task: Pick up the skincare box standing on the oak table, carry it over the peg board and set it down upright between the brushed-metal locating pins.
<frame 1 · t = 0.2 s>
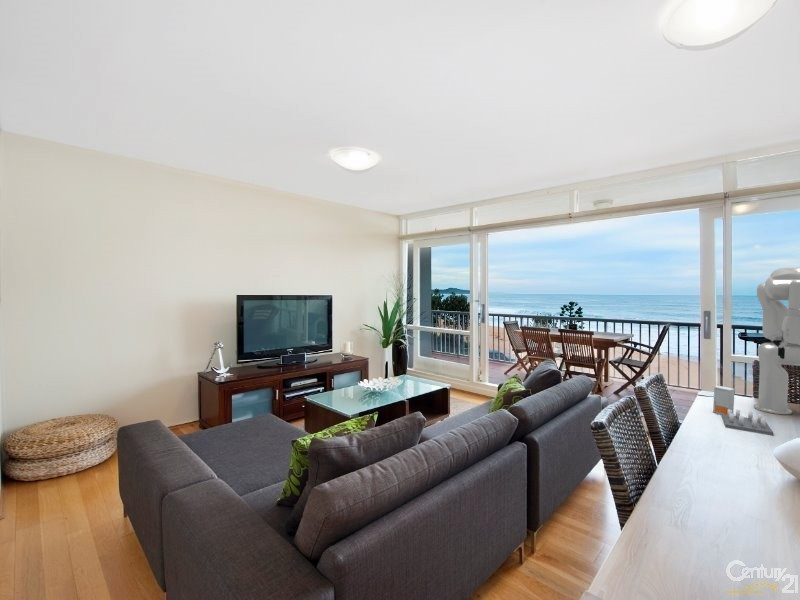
skincare box: (723, 414, 170), on the table
peg board: (745, 425, 155), on the table
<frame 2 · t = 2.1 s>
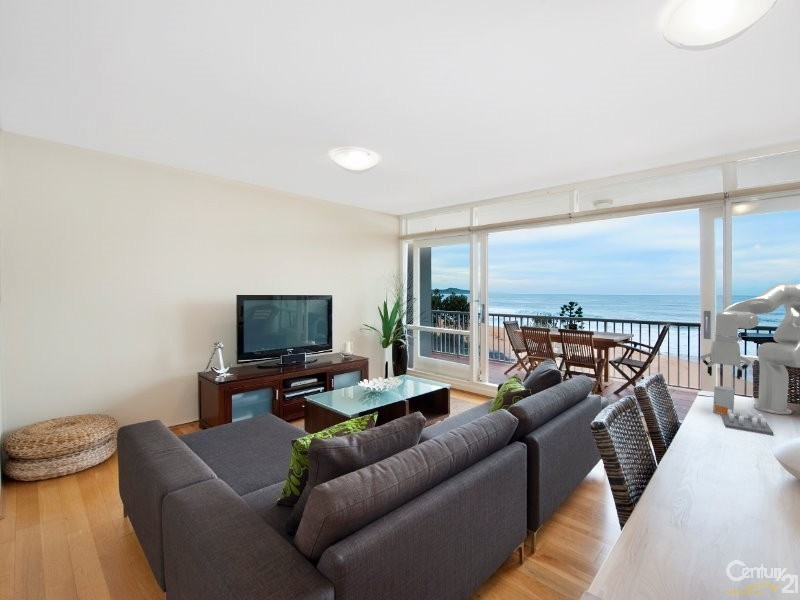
hand: (724, 376, 169), 17 cm above the table, fingers open, 9 cm apart
nothing on the table moved.
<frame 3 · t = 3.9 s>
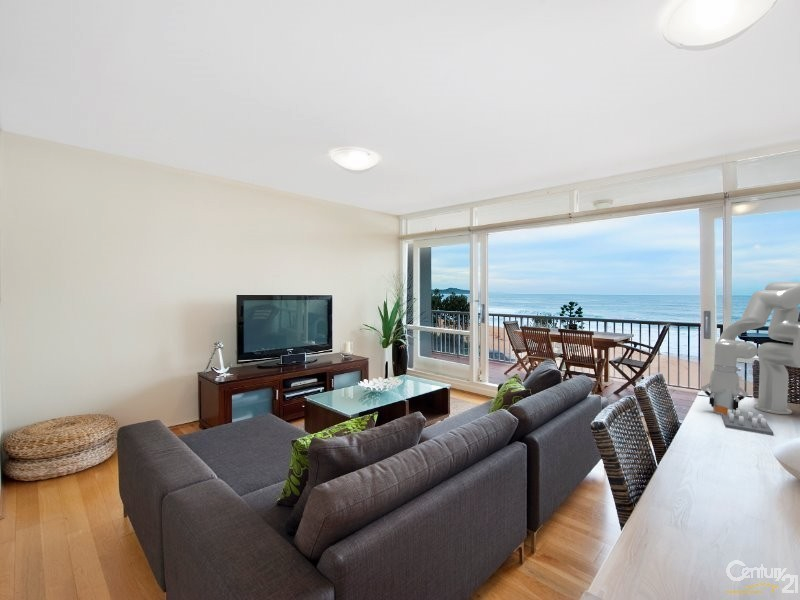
hand: (723, 407, 169), 3 cm above the table, fingers closed on skincare box, 7 cm apart
skincare box: (723, 414, 169), on the table, touching gripper
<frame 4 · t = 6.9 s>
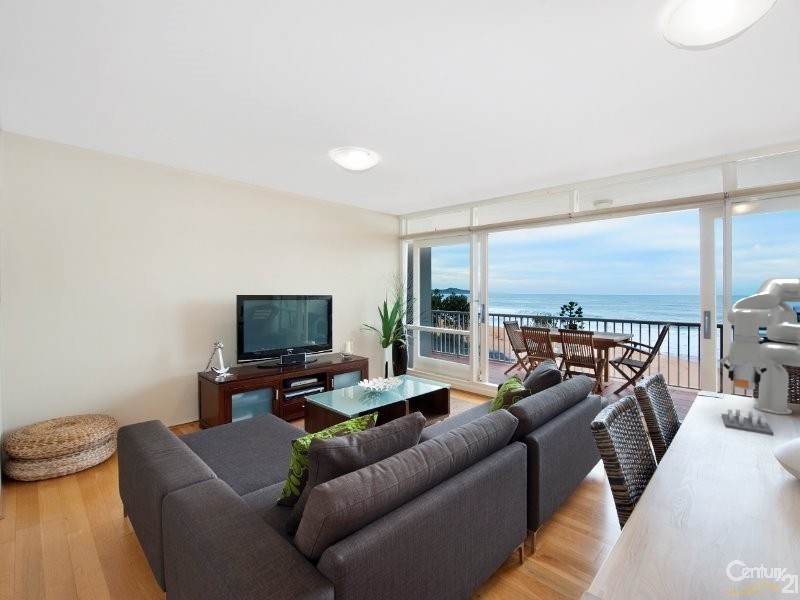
hand: (743, 381, 157), 18 cm above the table, fingers closed on skincare box, 7 cm apart
skincare box: (743, 388, 157), point 15 cm above the table, touching gripper
when the fingers open (5 cm above the table, at t = 9.9 s): skincare box drops 1 cm, resting on peg board.
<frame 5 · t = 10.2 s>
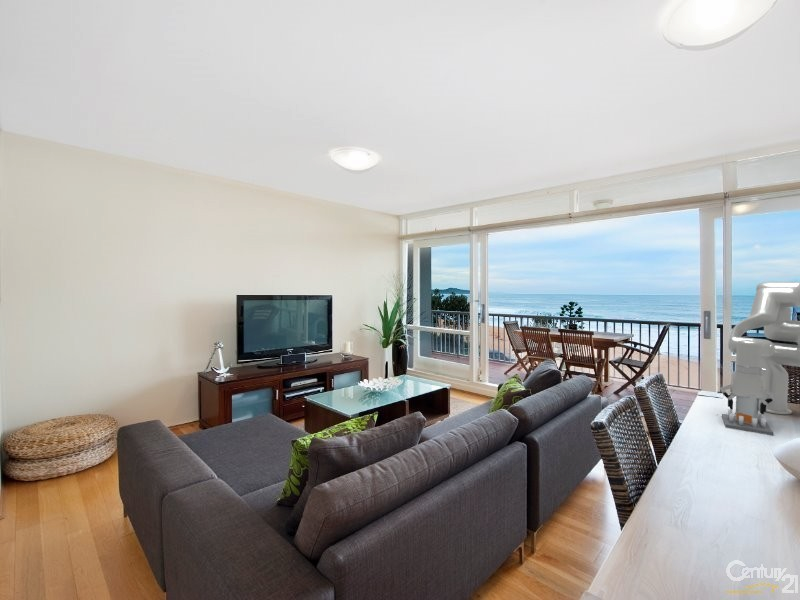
hand: (746, 410, 155), 6 cm above the table, fingers open, 9 cm apart
skincare box: (746, 422, 155), point 1 cm above the table, touching peg board
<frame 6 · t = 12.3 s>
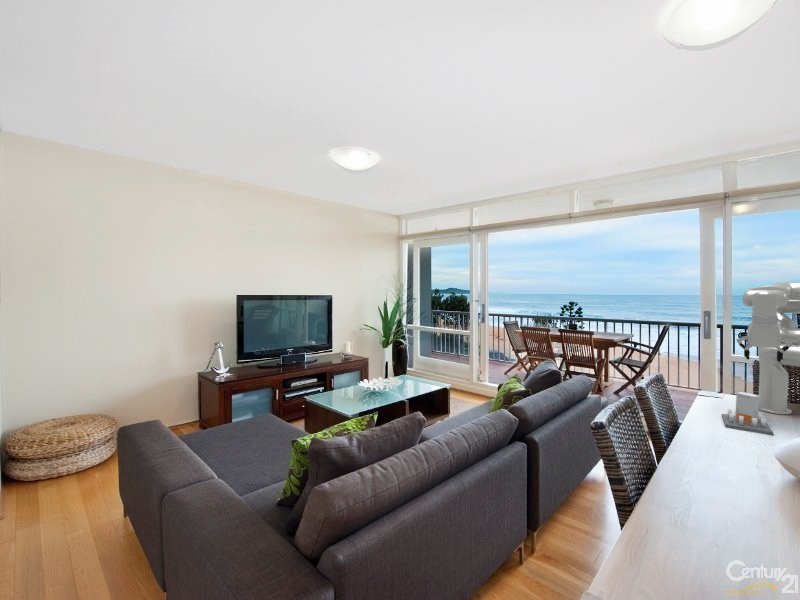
hand: (762, 360, 160), 26 cm above the table, fingers open, 9 cm apart
nothing on the table moved.
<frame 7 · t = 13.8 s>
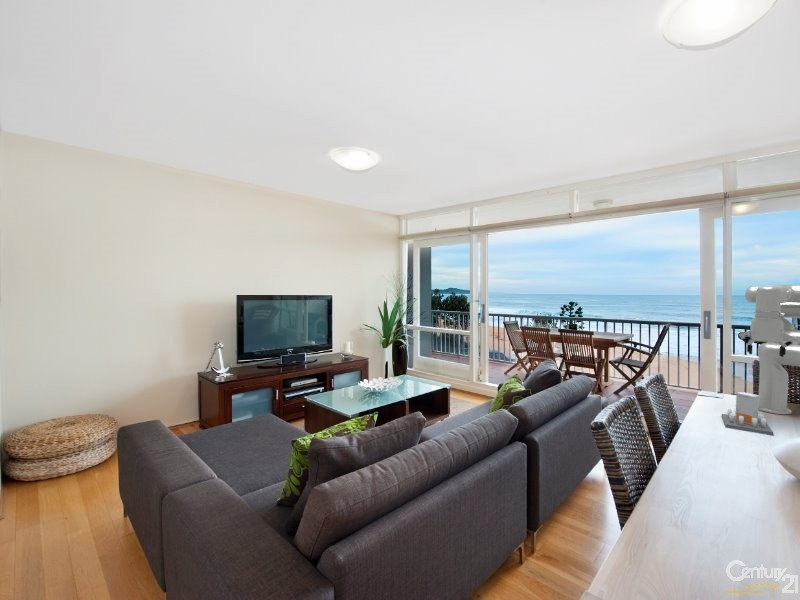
hand: (765, 355, 161), 28 cm above the table, fingers open, 9 cm apart
nothing on the table moved.
at the end: skincare box 0.3 cm off-centre on the peg board, point 1.0 cm above the peg board's base; skincare box tilted 0°; the gripper is holding nothing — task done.
